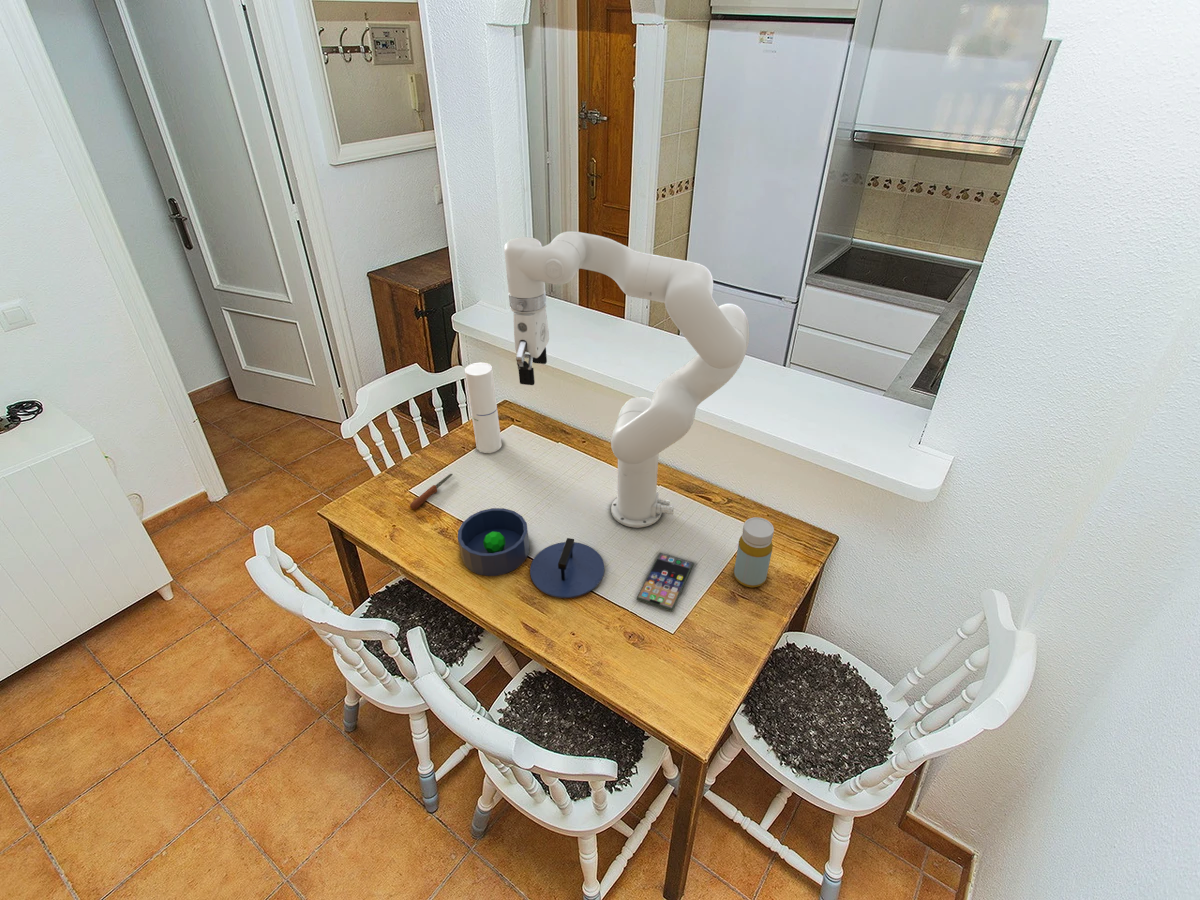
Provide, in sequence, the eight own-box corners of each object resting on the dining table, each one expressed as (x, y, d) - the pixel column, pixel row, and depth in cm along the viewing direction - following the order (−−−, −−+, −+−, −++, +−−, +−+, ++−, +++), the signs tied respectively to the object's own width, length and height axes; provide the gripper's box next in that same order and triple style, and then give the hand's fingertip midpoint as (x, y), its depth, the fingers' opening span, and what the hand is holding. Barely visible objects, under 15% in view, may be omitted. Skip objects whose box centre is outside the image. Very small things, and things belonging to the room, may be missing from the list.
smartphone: (693, 564, 143) (693, 560, 142) (672, 612, 132) (672, 609, 131) (659, 554, 146) (660, 550, 145) (636, 601, 135) (636, 597, 134)
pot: (537, 532, 152) (535, 512, 148) (517, 581, 140) (514, 560, 136) (476, 524, 155) (472, 504, 151) (451, 571, 142) (446, 550, 139)
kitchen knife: (414, 511, 159) (412, 505, 158) (410, 509, 159) (408, 503, 158) (455, 477, 170) (454, 471, 169) (451, 476, 170) (450, 470, 169)
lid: (610, 550, 147) (610, 530, 143) (596, 605, 134) (595, 584, 130) (542, 540, 150) (540, 520, 146) (520, 593, 137) (518, 573, 133)
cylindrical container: (496, 454, 178) (486, 376, 164) (472, 451, 179) (460, 374, 165) (505, 440, 184) (495, 363, 169) (481, 437, 185) (470, 361, 170)
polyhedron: (510, 551, 146) (508, 536, 144) (491, 560, 144) (488, 545, 141) (499, 539, 150) (497, 524, 147) (481, 548, 148) (478, 533, 145)
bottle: (759, 593, 136) (769, 543, 127) (728, 581, 139) (736, 531, 130) (770, 573, 141) (780, 523, 132) (740, 561, 144) (748, 511, 135)
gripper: (533, 318, 123) (539, 394, 133) (556, 285, 137) (559, 356, 147) (496, 316, 124) (505, 391, 134) (522, 283, 138) (528, 354, 148)
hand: (533, 373), depth 140 cm, fingers open, 9 cm apart
